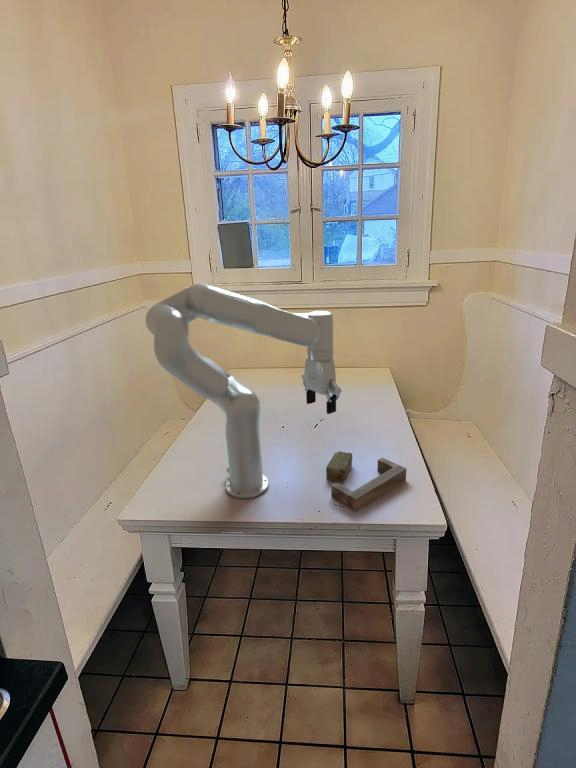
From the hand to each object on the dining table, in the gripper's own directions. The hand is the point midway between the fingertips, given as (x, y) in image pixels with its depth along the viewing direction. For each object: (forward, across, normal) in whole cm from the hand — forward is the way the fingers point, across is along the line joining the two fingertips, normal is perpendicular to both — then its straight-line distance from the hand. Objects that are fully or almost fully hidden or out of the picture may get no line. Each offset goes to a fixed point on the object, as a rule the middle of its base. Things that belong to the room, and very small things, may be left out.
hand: (320, 407), depth 138 cm
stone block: (+20, +8, 0) cm, 21 cm away
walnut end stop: (+19, +20, +1) cm, 28 cm away
